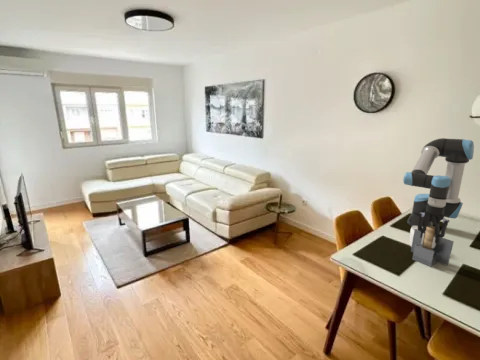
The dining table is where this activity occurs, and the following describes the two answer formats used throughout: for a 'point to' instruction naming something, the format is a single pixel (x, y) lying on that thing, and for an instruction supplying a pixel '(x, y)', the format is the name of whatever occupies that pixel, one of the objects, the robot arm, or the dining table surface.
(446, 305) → the dining table surface
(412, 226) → the cup
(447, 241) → the bracket
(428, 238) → the wooden dowel
